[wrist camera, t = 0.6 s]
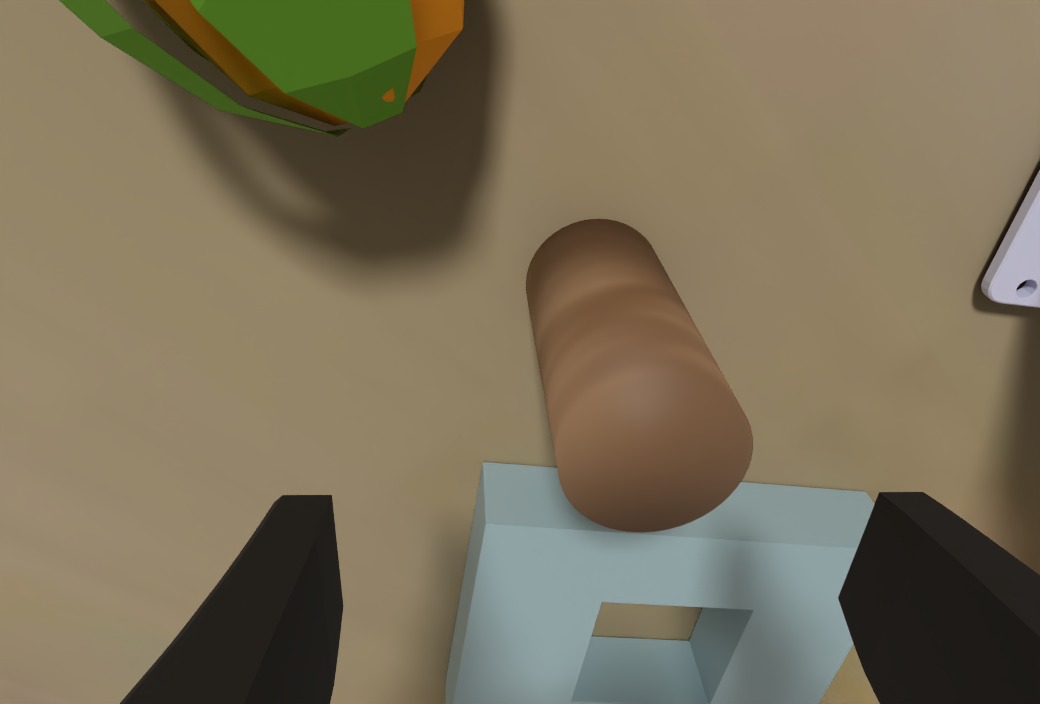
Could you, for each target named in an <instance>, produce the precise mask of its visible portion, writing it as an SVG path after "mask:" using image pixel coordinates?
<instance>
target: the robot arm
mask: <svg viewBox="0 0 1040 704" xmlns="http://www.w3.org/2000/svg"><path fill="white" fill-rule="evenodd" d="M1025 280H1027V281H1026V283H1025V285H1024V286H1023V287H1022V288H1020V289H1019V290H1017V287H1018V286H1019V285H1020V284H1021V283H1022V282H1024V281H1025ZM981 288H982V292H983V293H984V294H985V296H987V297H988V298H989V299H991V300H992V301H994V302H997V303H1002V304H1011V305H1019V306H1027V307H1036V308H1040V170H1039V172H1038V174H1037V176H1036V178H1035V180H1034V182H1033V184H1032V186H1031V188H1030V190H1029V191H1028V193H1027V195H1026V197H1025V199H1024V201H1023V203H1022V205H1021V207H1020V209H1019V211H1018V213H1017V215H1016V216H1015V218H1014V220H1013V222H1012V224H1011V226H1010V228H1009V230H1008V232H1007V234H1006V236H1005V238H1004V240H1003V242H1002V243H1001V245H1000V247H999V249H998V251H997V253H996V255H995V257H994V259H993V261H992V263H991V265H990V267H989V268H988V270H987V272H986V274H985V276H984V278H983V281H982V284H981ZM1016 290H1017V291H1016ZM838 600H839V603H840V605H841V608H842V611H843V614H844V617H845V620H846V623H847V626H848V629H849V632H850V635H851V638H852V641H853V643H854V646H855V648H856V651H857V654H858V656H859V659H860V662H861V664H862V667H863V670H864V672H865V674H866V676H867V678H868V680H869V682H870V684H871V686H872V688H873V691H874V693H875V695H876V697H877V699H878V701H879V703H880V704H1040V575H1038V574H1037V573H1036V572H1034V571H1033V570H1032V569H1030V568H1029V567H1027V566H1026V565H1025V564H1023V563H1022V562H1021V561H1019V560H1018V559H1017V558H1015V557H1014V556H1013V555H1011V554H1010V553H1008V552H1007V551H1006V550H1004V549H1003V548H1002V547H1000V546H999V545H998V544H996V543H995V542H993V541H992V540H991V539H989V538H988V537H987V536H985V535H984V534H983V533H981V532H980V531H978V530H977V529H976V528H974V527H973V526H972V525H970V524H969V523H967V522H966V521H965V520H963V519H962V518H960V517H959V516H958V515H956V514H955V513H953V512H952V511H950V510H949V509H948V508H946V507H945V506H943V505H942V504H940V503H939V502H937V501H936V500H934V499H933V498H931V497H930V496H928V495H927V494H925V493H923V492H879V494H878V497H877V499H876V502H875V505H874V507H873V510H872V512H871V515H870V517H869V520H868V522H867V525H866V528H865V530H864V533H863V535H862V538H861V540H860V543H859V545H858V548H857V551H856V553H855V556H854V558H853V561H852V563H851V566H850V568H849V571H848V573H847V576H846V579H845V581H844V584H843V586H842V589H841V591H840V594H839V596H838ZM342 613H343V599H342V590H341V580H340V570H339V561H338V551H337V542H336V532H335V522H334V513H333V503H332V495H282V496H281V497H280V498H279V499H278V500H276V501H275V502H274V504H273V505H272V507H271V508H270V510H269V511H268V513H267V514H266V516H265V517H264V519H263V520H262V522H261V523H260V525H259V526H258V528H257V529H256V531H255V532H254V534H253V535H252V536H251V538H250V539H249V541H248V542H247V544H246V545H245V547H244V548H243V549H242V551H241V552H240V554H239V555H238V556H237V558H236V559H235V561H234V562H233V563H232V565H231V566H230V567H229V569H228V570H227V572H226V573H225V574H224V576H223V577H222V578H221V580H220V581H219V583H218V584H217V585H216V586H215V588H214V589H213V590H212V592H211V593H210V594H209V596H208V597H207V598H206V599H205V601H204V602H203V603H202V605H201V606H200V607H199V608H198V610H197V611H196V612H195V614H194V615H193V616H192V617H191V619H190V620H189V621H188V623H187V624H186V625H185V626H184V628H183V629H182V630H181V632H180V633H179V634H178V635H177V637H176V638H175V639H174V640H173V642H172V643H171V644H170V645H169V647H168V648H167V649H166V650H165V651H164V652H163V654H162V655H161V656H160V657H159V658H158V660H157V661H156V662H155V663H154V664H153V665H152V667H151V668H150V669H149V670H148V671H147V672H146V674H145V675H144V676H143V677H142V678H141V679H140V681H139V682H138V683H137V684H136V685H135V686H134V688H133V689H132V690H131V691H130V692H129V693H128V695H127V696H126V697H125V698H124V699H123V700H122V702H121V703H120V704H330V700H331V696H332V691H333V687H334V680H335V672H336V664H337V656H338V648H339V639H340V630H341V621H342Z"/></svg>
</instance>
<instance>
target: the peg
mask: <svg viewBox="0 0 1040 704" xmlns="http://www.w3.org/2000/svg"><path fill="white" fill-rule="evenodd" d="M526 293H527V298H528V304H529V310H530V316H531V321H532V327H533V333H534V339H535V344H536V350H537V356H538V361H539V367H540V373H541V379H542V384H543V390H544V396H545V402H546V407H547V413H548V419H549V425H550V430H551V436H552V442H553V448H554V453H555V459H556V465H557V471H558V476H559V481H560V485H561V487H562V490H563V492H564V494H565V496H566V497H567V499H568V501H569V502H570V503H571V504H572V506H573V507H574V508H575V509H576V510H577V511H579V512H580V513H581V514H582V515H583V516H585V517H586V518H588V519H589V520H591V521H593V522H595V523H597V524H599V525H602V526H605V527H608V528H610V529H615V530H619V531H626V532H657V531H662V530H668V529H672V528H675V527H679V526H682V525H685V524H687V523H690V522H692V521H694V520H696V519H698V518H701V517H702V516H704V515H706V514H707V513H709V512H711V511H712V510H714V509H715V508H716V507H718V506H719V505H720V504H722V503H723V502H724V501H725V500H726V499H727V498H728V497H729V496H730V495H731V494H732V493H733V491H734V490H735V489H736V488H737V487H738V485H739V484H740V482H741V481H742V479H743V478H744V476H745V473H746V471H747V469H748V467H749V464H750V461H751V457H752V450H753V437H752V431H751V427H750V424H749V422H748V419H747V417H746V415H745V414H744V412H743V410H742V408H741V406H740V405H739V403H738V401H737V399H736V397H735V396H734V394H733V392H732V390H731V388H730V387H729V385H728V383H727V381H726V379H725V378H724V376H723V374H722V372H721V370H720V368H719V367H718V365H717V363H716V361H715V359H714V358H713V356H712V354H711V352H710V350H709V349H708V347H707V345H706V343H705V341H704V340H703V338H702V336H701V334H700V332H699V331H698V329H697V327H696V325H695V323H694V322H693V320H692V318H691V316H690V314H689V313H688V311H687V309H686V307H685V305H684V304H683V302H682V300H681V298H680V296H679V295H678V293H677V291H676V289H675V287H674V286H673V284H672V282H671V280H670V278H669V277H668V275H667V273H666V271H665V269H664V267H663V266H662V264H661V262H660V260H659V258H658V257H657V255H656V253H655V251H654V250H653V248H652V246H651V244H650V243H649V242H648V241H647V239H646V238H645V237H644V236H643V235H642V234H640V233H639V232H638V231H636V230H635V229H633V228H632V227H630V226H628V225H626V224H623V223H620V222H617V221H613V220H608V219H589V220H584V221H579V222H576V223H573V224H570V225H568V226H566V227H564V228H562V229H560V230H559V231H557V232H555V233H554V234H553V235H552V236H550V237H549V238H548V239H547V240H546V241H545V242H544V243H543V244H542V245H541V246H540V248H539V249H538V250H537V252H536V253H535V255H534V257H533V258H532V261H531V263H530V266H529V268H528V272H527V278H526Z"/></svg>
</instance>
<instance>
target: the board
mask: <svg viewBox="0 0 1040 704" xmlns="http://www.w3.org/2000/svg"><path fill="white" fill-rule="evenodd" d="M874 505H875V504H874V503H873V502H872V500H871V499H870V497H869V496H868V494H867V493H866V492H861V491H848V490H836V489H823V488H810V487H797V486H784V485H772V484H759V483H746V482H740V484H739V485H738V487H737V488H736V489H735V490H734V491H733V493H732V494H731V495H730V496H729V497H728V498H727V499H726V500H725V501H724V502H723V503H722V504H720V505H719V506H718V507H716V508H715V509H714V510H712V511H711V512H709V513H707V514H706V515H704V516H702V517H701V518H698V519H696V520H694V521H692V522H690V523H687V524H685V525H682V526H679V527H675V528H672V529H668V530H662V531H657V532H626V531H619V530H615V529H610V528H608V527H605V526H602V525H599V524H597V523H595V522H593V521H591V520H589V519H588V518H586V517H585V516H583V515H582V514H581V513H580V512H579V511H577V510H576V509H575V508H574V507H573V506H572V504H571V503H570V502H569V501H568V499H567V497H566V496H565V494H564V492H563V490H562V487H561V485H560V481H559V476H558V471H557V468H554V467H541V466H528V465H515V464H502V463H490V462H483V465H482V471H481V477H480V482H479V488H478V494H477V500H476V506H475V512H474V518H473V523H472V529H471V535H470V541H469V547H468V553H467V559H466V564H465V570H464V576H463V582H462V588H461V594H460V600H459V606H458V611H457V617H456V623H455V629H454V635H453V641H452V647H451V652H450V658H449V664H448V670H447V676H446V694H445V704H819V702H820V700H821V699H822V697H823V695H824V693H825V692H826V690H827V688H828V687H829V685H830V683H831V681H832V680H833V678H834V676H835V675H836V673H837V671H838V669H839V668H840V666H841V664H842V662H843V661H844V659H845V657H846V656H847V654H848V652H849V650H850V649H851V647H852V645H853V644H854V643H853V641H852V638H851V635H850V632H849V629H848V626H847V623H846V620H845V617H844V614H843V611H842V608H841V605H840V603H839V600H838V596H839V594H840V591H841V589H842V586H843V584H844V581H845V579H846V576H847V573H848V571H849V568H850V566H851V563H852V561H853V558H854V556H855V553H856V551H857V548H858V545H859V543H860V540H861V538H862V535H863V533H864V530H865V528H866V525H867V522H868V520H869V517H870V515H871V512H872V510H873V507H874ZM602 602H612V603H631V604H650V605H669V606H688V607H703V608H702V610H701V613H700V615H699V618H698V620H697V623H696V625H695V627H694V630H693V632H692V635H691V637H690V640H689V641H681V640H660V639H638V638H616V637H594V636H591V635H592V632H593V629H594V625H595V622H596V619H597V616H598V613H599V609H600V606H601V603H602Z"/></svg>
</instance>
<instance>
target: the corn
mask: <svg viewBox="0 0 1040 704" xmlns="http://www.w3.org/2000/svg"><path fill="white" fill-rule="evenodd" d="M59 1H60V2H62V3H63V4H64V5H65V6H66V7H67V8H68V9H69V10H70V11H72V12H73V13H74V14H75V15H76V16H77V17H78V18H79V19H81V20H82V21H83V22H84V23H85V24H86V25H87V26H88V27H90V28H91V29H92V30H93V31H94V32H95V33H96V34H97V35H99V36H100V37H101V38H102V39H104V40H106V41H107V42H109V43H111V44H112V45H114V46H115V47H117V48H119V49H120V50H122V51H124V52H125V53H127V54H129V55H130V56H132V57H133V58H135V59H137V60H138V61H140V62H142V63H143V64H145V65H146V66H148V67H150V68H151V69H153V70H155V71H156V72H158V73H159V74H161V75H163V76H164V77H166V78H168V79H169V80H171V81H173V82H174V83H176V84H177V85H179V86H181V87H182V88H184V89H186V90H187V91H189V92H190V93H192V94H194V95H195V96H197V97H199V98H200V99H202V100H203V101H205V102H207V103H208V104H210V105H212V106H213V107H215V108H217V109H218V110H221V111H225V112H230V113H234V114H239V115H243V116H248V117H252V118H257V119H261V120H266V121H270V122H275V123H279V124H284V125H288V126H293V127H297V128H302V129H307V130H311V131H316V132H320V133H325V134H329V135H334V136H339V135H341V134H343V133H344V132H346V131H347V130H349V129H351V128H349V129H342V130H334V131H326V132H325V131H322V130H318V129H315V128H312V127H308V126H305V125H302V124H298V123H295V122H292V121H289V120H285V119H282V118H279V117H275V116H272V115H269V114H265V113H262V112H259V111H256V110H252V109H249V108H246V107H242V106H240V105H239V104H237V103H236V102H234V101H233V100H232V99H230V98H229V97H228V96H226V95H225V94H223V93H222V92H221V91H219V90H218V89H216V88H215V87H214V86H212V85H211V84H210V83H208V82H207V81H205V80H204V79H203V78H201V77H200V76H199V75H197V74H196V73H194V72H193V71H192V70H190V69H189V68H187V67H186V66H185V65H183V64H182V63H181V62H179V61H178V60H176V59H175V58H174V57H172V56H171V55H169V54H168V53H167V52H165V51H164V50H163V49H161V48H160V47H158V46H157V45H156V44H154V43H153V42H152V41H150V40H149V39H147V38H146V37H145V36H143V35H142V34H140V33H139V32H138V31H136V30H135V29H134V28H132V27H131V26H130V25H129V24H128V23H127V22H126V21H125V20H124V19H123V18H122V16H121V15H120V14H119V13H118V12H117V11H116V10H115V9H114V8H113V7H112V6H111V5H110V4H109V3H108V2H107V1H106V0H59ZM142 1H143V2H144V3H145V4H146V5H147V6H148V7H149V8H150V9H151V10H152V11H153V12H154V13H155V14H156V15H157V16H158V17H159V18H161V19H162V20H163V21H164V22H165V23H166V24H167V25H168V26H169V27H170V28H171V29H172V30H173V31H174V32H175V33H176V34H177V35H178V36H179V37H180V38H181V39H182V40H183V41H184V42H185V43H186V44H187V45H188V46H189V47H190V48H192V49H193V50H194V51H195V52H196V53H197V54H199V55H201V56H202V57H204V58H206V59H207V60H209V61H210V62H212V63H213V64H214V65H215V66H216V67H217V68H219V69H220V70H221V71H222V72H223V73H224V74H225V75H226V76H228V77H229V78H230V79H231V80H232V81H233V82H234V83H235V84H236V85H238V86H239V87H240V88H241V89H242V90H243V91H244V92H245V93H247V94H248V95H249V96H252V97H254V98H257V99H260V100H263V101H266V102H269V103H271V104H274V105H277V106H280V107H283V108H286V109H288V110H291V111H294V112H297V113H300V114H303V115H305V116H308V117H311V118H314V119H317V120H320V121H322V122H325V123H328V124H331V125H334V126H335V125H340V124H344V123H352V124H354V125H356V126H358V127H360V128H363V129H364V128H366V127H369V126H371V125H374V124H376V123H378V122H381V121H383V120H386V119H388V118H391V117H393V116H396V115H398V114H401V113H403V110H404V105H405V102H406V101H407V100H408V98H409V97H411V96H413V95H414V94H416V93H418V92H420V90H421V88H422V85H423V83H424V81H425V79H426V77H427V74H428V73H429V72H430V70H431V69H432V68H433V66H434V65H435V64H436V63H437V61H438V60H439V59H440V57H441V56H442V55H443V54H444V52H445V51H446V50H447V48H448V47H449V46H450V45H451V43H452V42H453V41H454V39H455V38H456V37H457V36H458V34H459V33H460V32H461V30H462V29H463V16H464V0H142Z"/></svg>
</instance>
